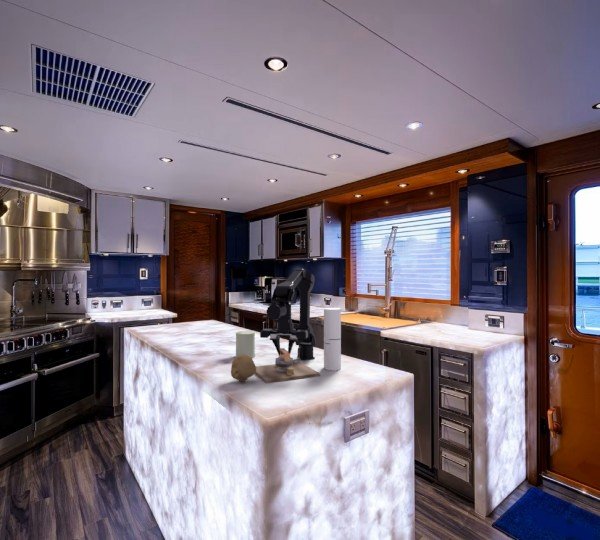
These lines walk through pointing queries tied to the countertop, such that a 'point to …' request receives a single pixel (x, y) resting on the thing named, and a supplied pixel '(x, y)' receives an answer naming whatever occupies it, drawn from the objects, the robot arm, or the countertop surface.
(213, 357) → the countertop surface
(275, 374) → the post board
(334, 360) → the cylindrical container
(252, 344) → the can
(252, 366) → the natural sponge
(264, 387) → the countertop surface
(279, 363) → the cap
